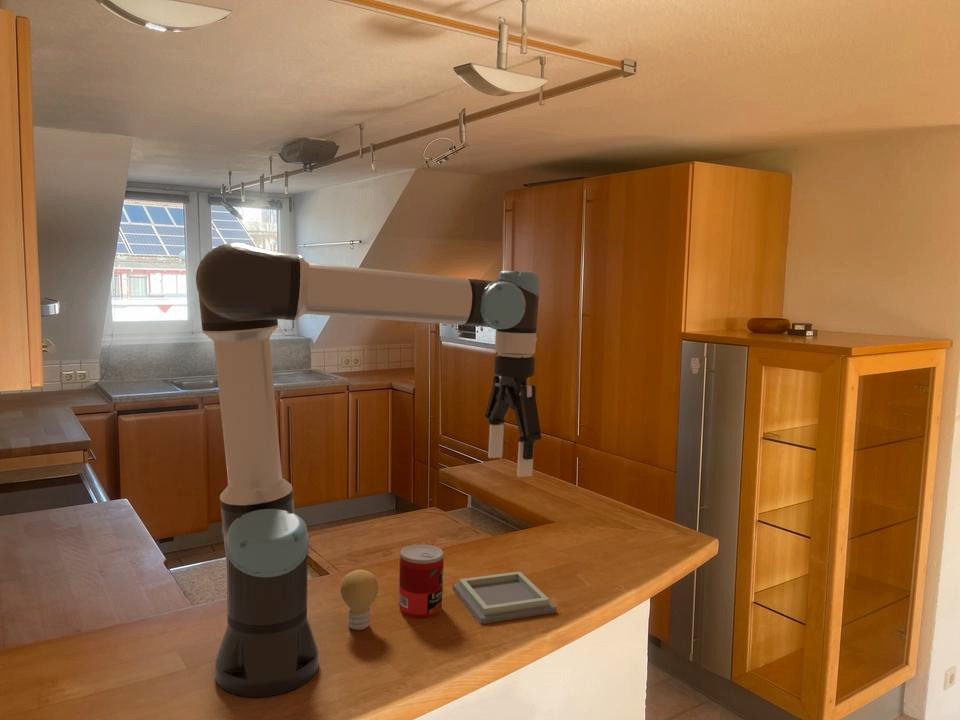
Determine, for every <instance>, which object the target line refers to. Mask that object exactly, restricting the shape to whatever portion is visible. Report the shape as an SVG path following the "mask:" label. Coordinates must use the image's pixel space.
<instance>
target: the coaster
mask: <svg viewBox="0 0 960 720" xmlns="http://www.w3.org/2000/svg"><path fill="white" fill-rule="evenodd" d="M458 581H459V582H456V583H452V590H453V591H454V593H455V594H456V595H457V597H459V599H460V600H461V601H462V603H463V604H464V606H466V607H467V609H468V611H469V612H471V614H472V615H473V616H474V618H475V619H476V620H477V621H478V623H479V624H480V625H485V624H490V623H496V622H503V621H508V620H516V619H521V618H527V617H535V616H542V615H547V613H548V614H553V613H554V612H555V613H557V606H556V605H555V604H554V603H553V602H552V601H551V599H550V598H549V597H548V596H547V595H545V593H544V592H542V590H541V589H539V588H538V587H537V586H536V584H534V583H533V582H532V581H531V580H530V579H529V578H528V577H527V576H525V575H524V573H523V572H521V571H514V572H513V571H512V572H506V573H497V574H496V573H495V574H491V575H481V576H476V577H475V576H474V577H466V578H460V579H459V580H458ZM555 613H554V614H555Z"/></svg>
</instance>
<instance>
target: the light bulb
mask: <svg viewBox="0 0 960 720" xmlns="http://www.w3.org/2000/svg"><path fill="white" fill-rule="evenodd" d="M378 593H379V582H378V579H377V577H376V576H375V575H374V574H373V573H372V572H370V571H368V570H365V569H356V570H352V571H350V572H348V574H347V573H346V575H345V576H344V577H343V579H342V581H341V584H340V595H341V598H342V601H343V602H344V604H345V605H347V607H348V609H347V614H348V615H347V625H348V627H350V629H352V630H354V631H361V630H362V631H363V630H366V628H367V627H369V626H370V623H371V620H370V618H371V614H370V613H371V608H370V606H372V604H373V603H374V602H375V600H376V598H377V597H378Z"/></svg>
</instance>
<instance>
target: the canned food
mask: <svg viewBox="0 0 960 720" xmlns="http://www.w3.org/2000/svg"><path fill="white" fill-rule="evenodd" d="M399 554H400V555H399V579H398V580H399V587H398V589H399V591H398V606H399V610H400V612H401V613H402V614H403V615H405V616H407V617H409V618H413V619H421V620H423V619H429V618H434V617H435V616H438V614H440V613H441V610H442V607H443V587H444V586H443V585H444V584H443V583H444V562H445V561H444V559H445V558H444V555H445V554H444V550H442V549H441V548H440V547H438V546H435V545H431V544H423V543H422V544H417V543H416V544H410V545H408V546H404V547H403V548H402V549H401V550H400V553H399Z"/></svg>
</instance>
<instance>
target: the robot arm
mask: <svg viewBox="0 0 960 720" xmlns="http://www.w3.org/2000/svg"><path fill="white" fill-rule="evenodd" d="M539 280H540V279H539V275H538V274H537V273H536V272H534V271H523V270H522V271H521V270H519V271H518V270H501V271H499V273H498V278H497V280H487V279H478V278H477V279H475V278H465V277H458V276H447V275H438V274H437V275H436V274H428V273H427V274H426V273H419V272H418V273H415V272H405V271H404V272H403V271H397V270H387V269H386V270H384V269H376V268H374V269H373V268H365V267H355V266H346V265H345V266H344V265H334V264H323V263H313V262H308V261H306V259H305V258H304V257H303V256H302V255H301V254H294V253H287V252H286V253H285V252H279V251H275V250H271V249H265V248H262V247H258V246H255V245H252V244H248V243H246V242H231V243H225V244H222V245H219V246H216V247H214V248H212V249H211V250H210V251H208V252H207V253H206V254H205V255H204V257H202V259H201V261H200V262H199V264H198V266H197V269H196V274H195V284H196V290H197V293H198V301H199V302H198V303H199V312H200V319H201V321H200V322H201V329H202V330H201V331H202V333H203V334H205V336H207V337H208V338H209V339H211V340H212V342H213V347H214V358H215V365H216V366H215V367H216V375H217V377H216V378H217V387H218V395H219V404H220V415H221V425H222V435H223V446H224V455H225V465H226V474H227V475H226V476H227V486H226V487H225V488H224V489H223V491H222V492H221V493H220V495H219V501H220V503H219V504H220V511H221V514H220V515H221V523H222V524H221V526H222V527H221V534H222V540H223V542H224V543H223V544H224V551H225V565H226V584H227V585H226V586H227V587H226V594H227V595H226V599H227V601H226V602H227V603H226V604H227V606H226V609H227V614H226V616H227V624H226V629H225V631H224V634H223V637H222V640H221V642H220V646H219V648H218V652H217V655H216V657H215V661H214V662H215V663H214V664H215V666H214V673H215V675H214V676H215V681H216V683H217V684H218V686H219V687H220V688H221V689H222V690H224V691H226V692H228V693H229V694H233V695H236V696H241V697H248V698H249V697H251V698H264V697H270V696H271V697H272V696H276V695H280V694H285V693H288V692H291V691H293V690H296V689H297V688H300V687H301V686H303V685H304V684H306V683H308V681H310V680H311V679H312V678H313V677H314V675H315V674H316V672H317V671H318V668H319V648H318V645H317V641H316V639H315V637H314V633H313V630H312V628H311V625H310V621H309V619H308V568H309V567H308V563H309V561H308V558H309V557H308V556H309V555H308V553H309V547H310V537H309V534H308V527H307V524H306V522H305V521H304V519H303V518H302V517H300V516H299V515H298V514H296V512H295V511H296V510H295V502H294V490H293V485H292V484H291V483H290V482H289V481H288V480H286V479H285V478H283V473H282V462H281V461H282V460H281V452H280V451H281V450H280V440H279V431H278V430H279V429H278V419H277V417H278V416H277V407H276V395H275V386H274V373H273V363H272V362H273V361H272V351H271V340H270V337H271V336H272V334H274V332H275V331H276V329H277V328H278V327H279V321H278V320H287V321H297V320H298V319H299V318H301V317H302V316H303V315H313V316H315V315H316V316H326V317H327V316H329V317H331V316H332V317H344V318H345V317H346V318H359V319H371V320H373V319H375V320H386V321H387V320H389V321H400V322H415V323H429V324H430V323H431V324H443V325H444V324H446V325H460V326H467V327H468V326H469V327H470V326H471V327H482V328H483V327H485V328H490V329H493V330H495V336H494V337H495V341H494V351H495V353H497V354H496V355H495V356H494V365H493V367H494V369H493V373H494V374H495V375H493V380H492V387H491V392H490V394H489V397H488V398H489V399H488V402H487V405H486V406H487V407H486V410H485V414H484V417H485V420H488V421H487V422H488V424H489V436H488V454H487V455H488V457H487V458H489V459H495V458H498V459H499V458H503V451H504V450H503V449H504V447H503V446H504V431H505V430H504V429H505V425H504V424H505V423H506V422H505V419H504V418H505V417H506V415H507V412H508V410H509V408H511V409H512V410H513V412H514V415H515V416H514V417H515V420H516V423H517V427H518V431H519V434H520V437H519V438H518V440H517V441H518V448H517V449H518V451H517V464H516V465H517V466H516V468H517V469H516V477H518V478H522V477H533V469H534V452H535V451H534V450H535V442H536V441H541V440H542V432H541V431H542V430H541V426H540V418H539V413H538V405H537V400H536V397H537V396H536V394H537V392H536V391H537V390H536V385H533V384H532V385H530V384H528V381H527V379H528V378H532V377H534V376H535V371H536V369H535V368H536V367H535V366H536V365H535V364H536V358H535V356H533V355H535V354H536V349H537V348H536V344H537V342H538V337H537V331H538V330H537V329H538V328H537V327H538V314H539V299H540V281H539Z"/></svg>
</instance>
